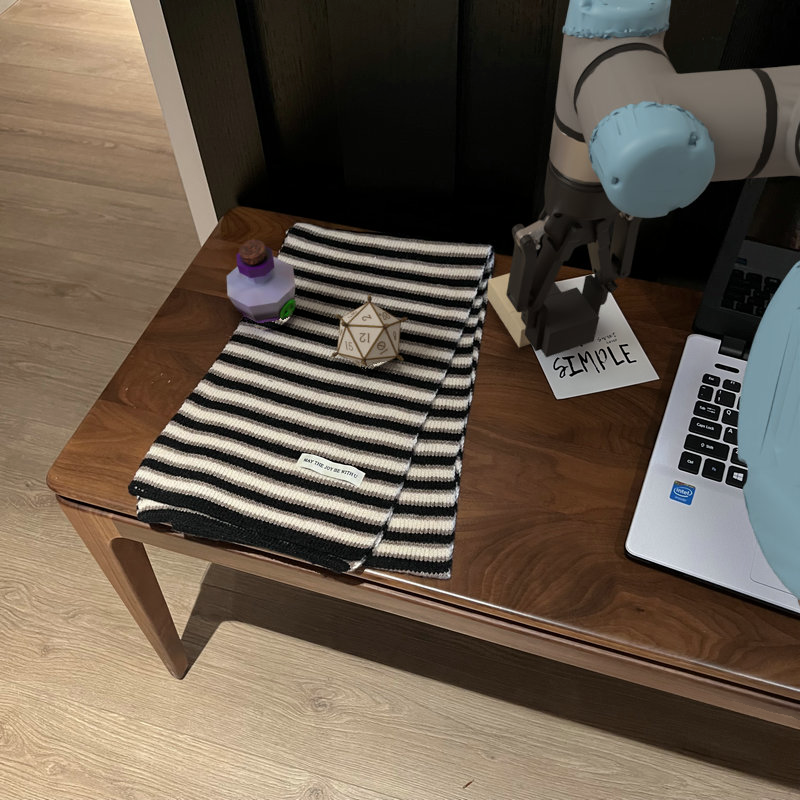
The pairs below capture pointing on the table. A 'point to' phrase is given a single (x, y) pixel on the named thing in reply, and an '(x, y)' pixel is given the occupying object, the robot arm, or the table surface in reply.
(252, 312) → the potion bottle
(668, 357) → the table surface
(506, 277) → the base pad
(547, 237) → the robot arm
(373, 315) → the game die
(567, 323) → the black pad
